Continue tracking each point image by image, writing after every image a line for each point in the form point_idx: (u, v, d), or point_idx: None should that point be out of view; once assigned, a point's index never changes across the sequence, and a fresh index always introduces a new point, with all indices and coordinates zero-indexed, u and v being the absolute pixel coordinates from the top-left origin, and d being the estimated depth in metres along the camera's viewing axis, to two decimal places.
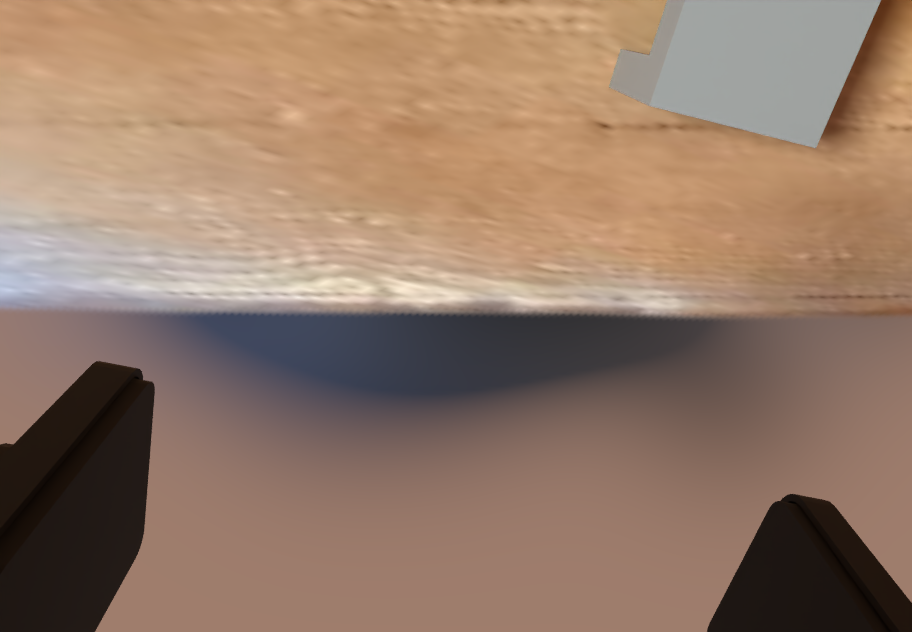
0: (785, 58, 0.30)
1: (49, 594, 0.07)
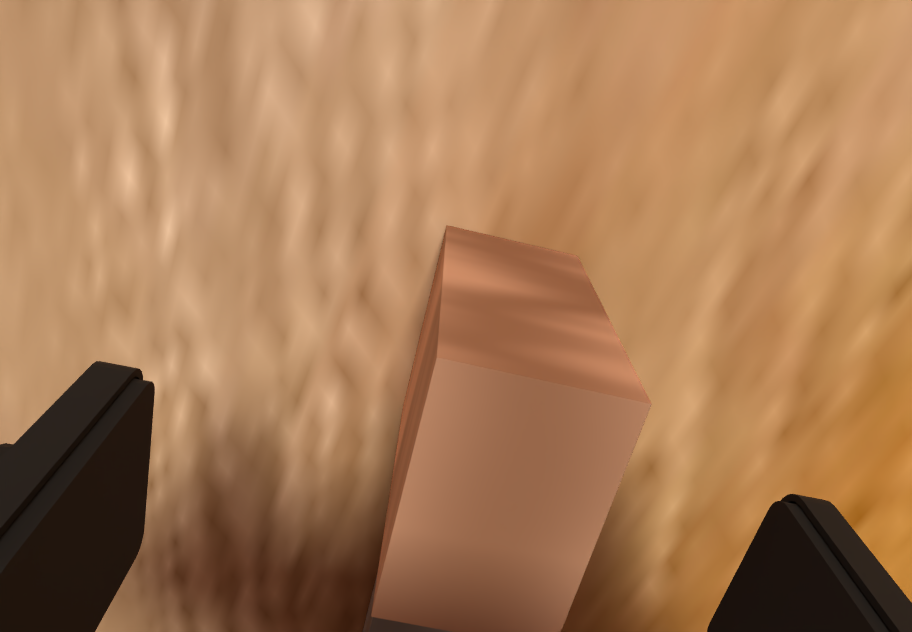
0: None
1: (49, 594, 0.07)
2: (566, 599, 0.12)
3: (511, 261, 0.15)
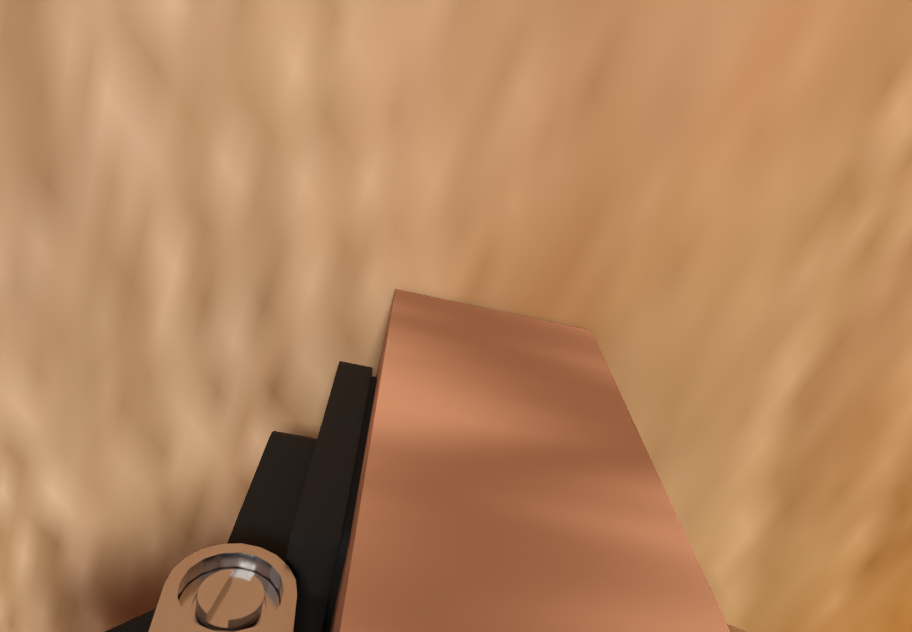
0: None
1: None
2: None
3: (493, 356, 0.09)
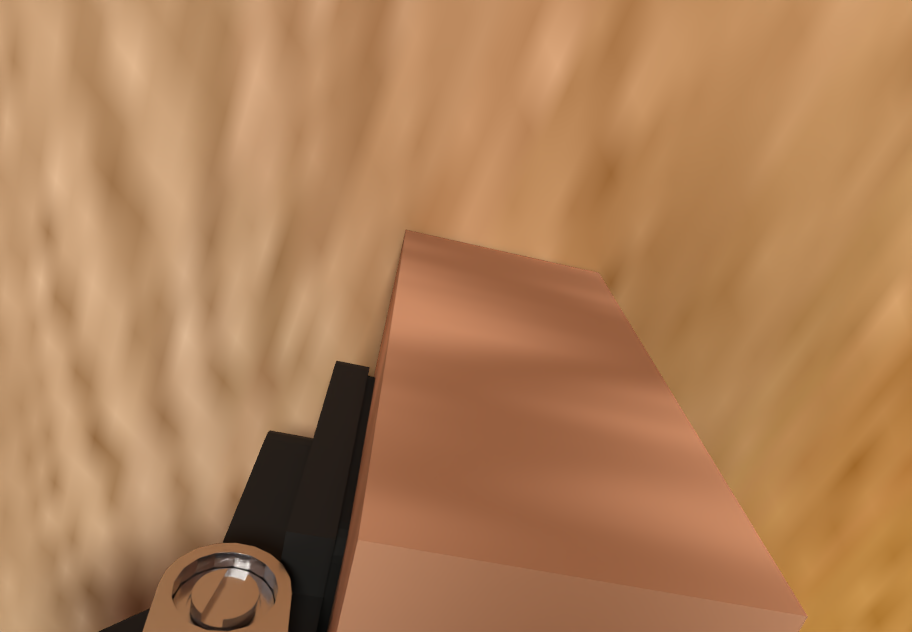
0: None
1: None
2: None
3: (504, 287, 0.10)
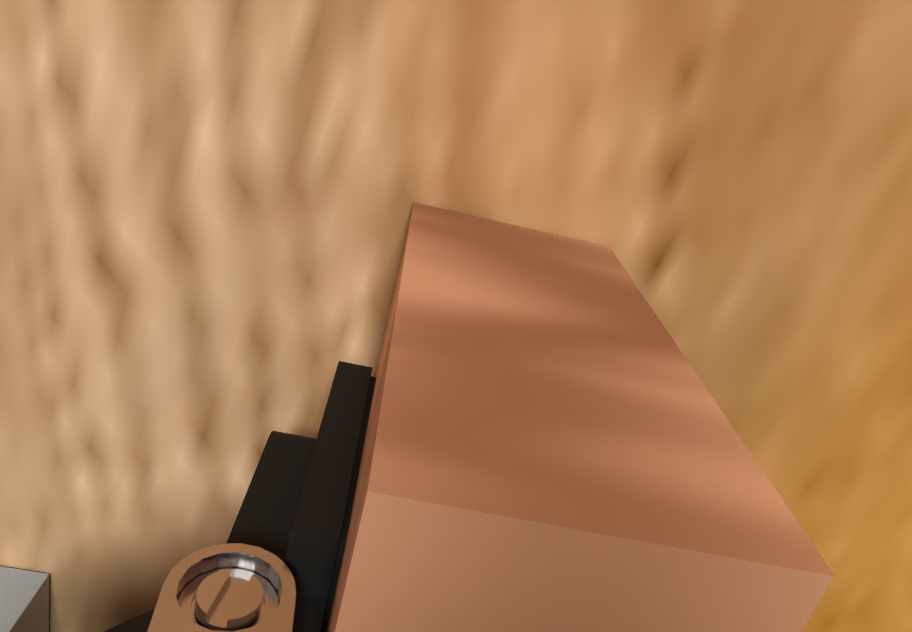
0: None
1: None
2: None
3: (513, 258, 0.09)
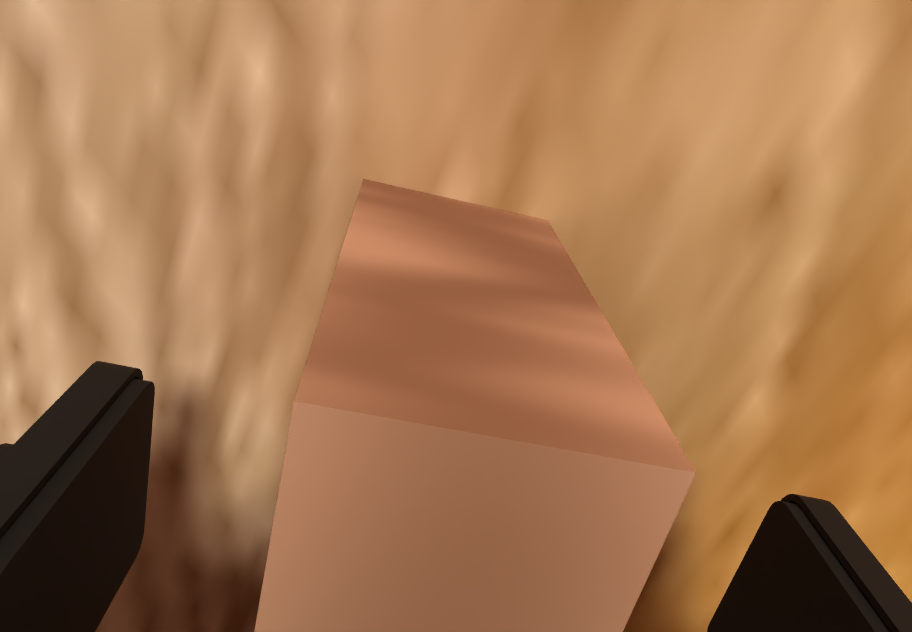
0: None
1: (49, 594, 0.07)
2: None
3: (453, 227, 0.10)
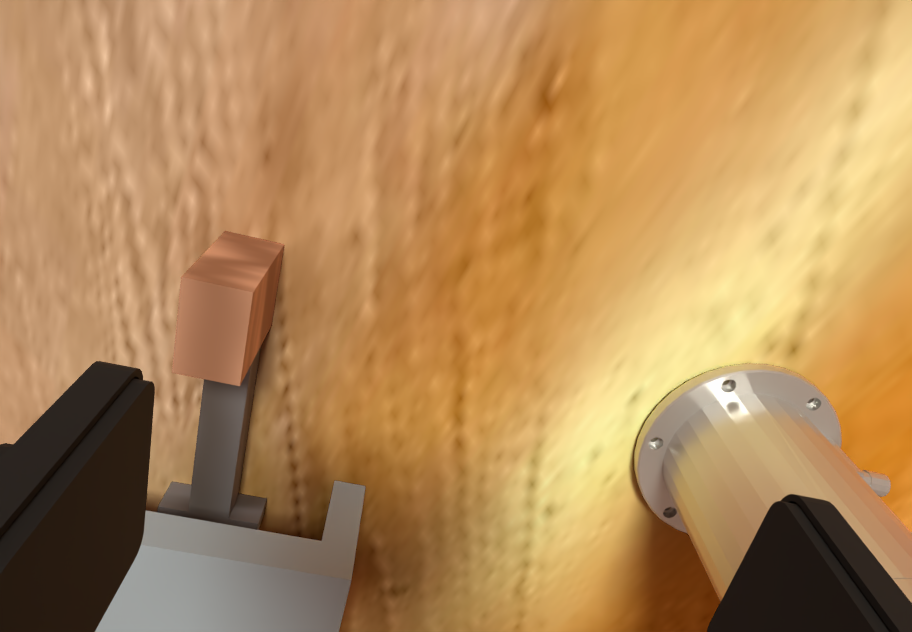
0: None
1: (49, 594, 0.07)
2: (239, 364, 0.33)
3: (244, 246, 0.36)
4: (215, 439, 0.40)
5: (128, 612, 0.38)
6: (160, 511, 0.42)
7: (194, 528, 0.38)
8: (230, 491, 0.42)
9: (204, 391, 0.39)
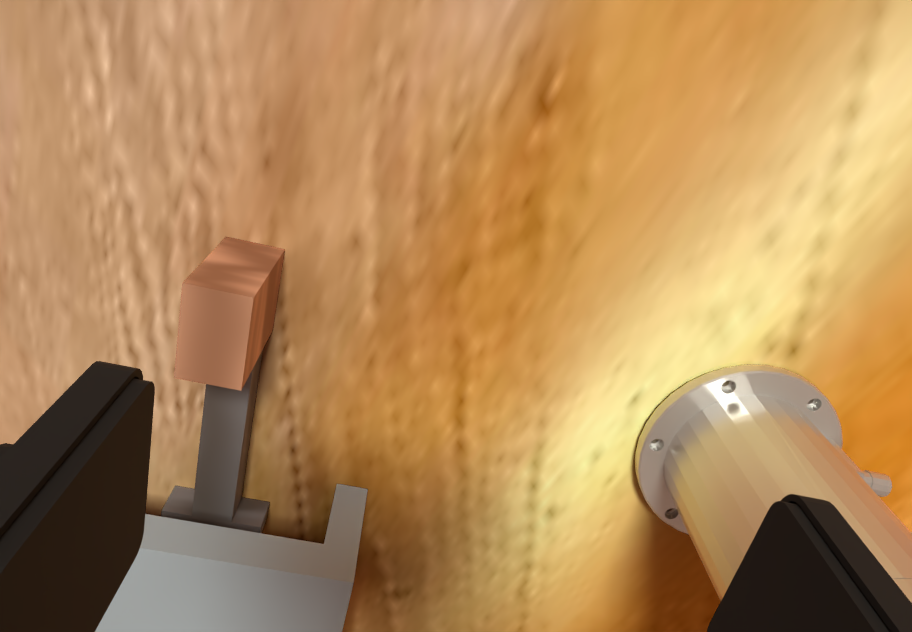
0: None
1: (49, 594, 0.07)
2: (241, 369, 0.33)
3: (245, 252, 0.36)
4: (218, 443, 0.40)
5: (133, 616, 0.38)
6: (164, 515, 0.42)
7: (197, 532, 0.38)
8: (233, 495, 0.42)
9: (206, 396, 0.39)
